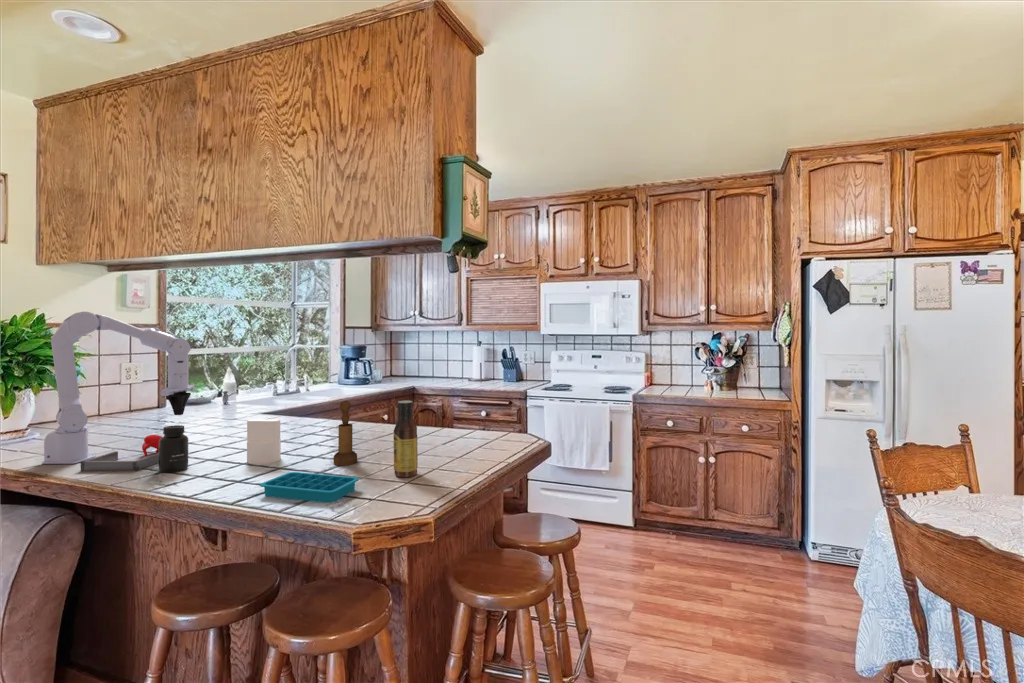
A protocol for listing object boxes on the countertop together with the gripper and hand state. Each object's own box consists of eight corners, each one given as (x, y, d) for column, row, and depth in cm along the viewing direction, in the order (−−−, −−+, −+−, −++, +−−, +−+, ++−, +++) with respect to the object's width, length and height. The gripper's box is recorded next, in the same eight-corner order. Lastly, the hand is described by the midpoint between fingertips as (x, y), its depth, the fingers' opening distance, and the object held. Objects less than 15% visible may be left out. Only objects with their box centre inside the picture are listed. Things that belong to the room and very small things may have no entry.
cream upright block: (286, 456, 153) (286, 417, 153) (271, 464, 144) (270, 423, 144) (257, 456, 153) (257, 417, 153) (240, 464, 144) (240, 422, 144)
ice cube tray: (332, 505, 111) (332, 492, 111) (256, 497, 116) (256, 485, 116) (361, 489, 122) (361, 477, 122) (291, 483, 127) (291, 471, 127)
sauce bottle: (397, 471, 137) (397, 399, 137) (420, 471, 137) (420, 399, 136) (390, 478, 130) (390, 402, 130) (414, 478, 130) (413, 402, 130)
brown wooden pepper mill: (347, 466, 142) (347, 403, 142) (328, 464, 144) (328, 402, 144) (361, 460, 148) (361, 400, 148) (343, 458, 150) (343, 399, 150)
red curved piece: (132, 446, 152) (146, 437, 151) (146, 436, 158) (159, 426, 157) (152, 465, 154) (166, 455, 153) (165, 454, 160) (178, 445, 159)
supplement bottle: (177, 473, 135) (177, 429, 134) (152, 473, 135) (152, 428, 134) (194, 466, 141) (193, 424, 141) (170, 466, 142) (170, 424, 141)
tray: (80, 471, 136) (80, 461, 136) (114, 459, 148) (114, 451, 148) (136, 470, 137) (136, 461, 137) (165, 459, 149) (165, 451, 149)
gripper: (176, 376, 159) (176, 418, 159) (203, 372, 174) (203, 411, 174) (153, 376, 159) (154, 418, 159) (182, 372, 173) (183, 411, 174)
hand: (178, 414), depth 166 cm, fingers closed
